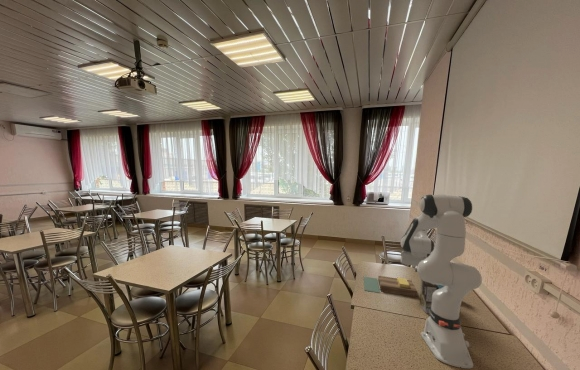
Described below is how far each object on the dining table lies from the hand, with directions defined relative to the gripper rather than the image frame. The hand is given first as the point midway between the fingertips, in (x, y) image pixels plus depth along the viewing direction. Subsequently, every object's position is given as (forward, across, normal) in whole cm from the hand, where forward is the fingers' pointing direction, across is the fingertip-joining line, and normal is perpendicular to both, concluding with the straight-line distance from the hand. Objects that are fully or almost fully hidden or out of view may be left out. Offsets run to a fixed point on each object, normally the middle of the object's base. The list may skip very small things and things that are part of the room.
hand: (416, 271), depth 148 cm
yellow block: (+10, -8, -1) cm, 13 cm away
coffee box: (+14, +2, -20) cm, 24 cm away
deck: (+14, -12, -1) cm, 18 cm away
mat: (+14, -28, -1) cm, 32 cm away
